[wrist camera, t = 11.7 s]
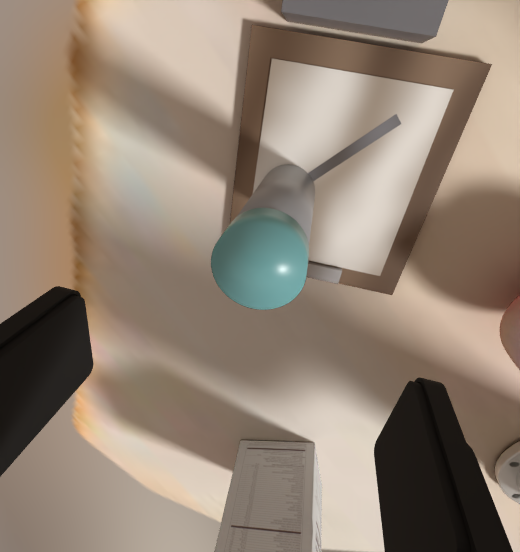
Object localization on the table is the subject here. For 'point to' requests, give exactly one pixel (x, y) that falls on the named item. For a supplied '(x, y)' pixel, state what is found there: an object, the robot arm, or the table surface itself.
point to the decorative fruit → (511, 331)
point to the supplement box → (273, 499)
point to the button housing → (371, 16)
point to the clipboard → (354, 142)
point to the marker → (268, 242)
